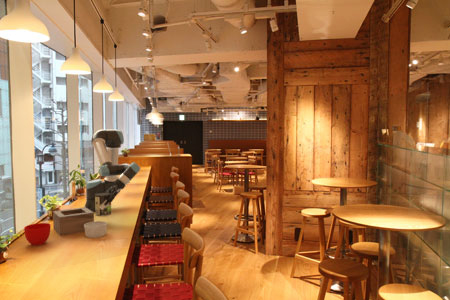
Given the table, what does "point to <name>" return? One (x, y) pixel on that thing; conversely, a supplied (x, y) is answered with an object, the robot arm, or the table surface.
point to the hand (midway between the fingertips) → (98, 207)
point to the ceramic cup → (37, 233)
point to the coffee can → (99, 201)
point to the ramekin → (95, 229)
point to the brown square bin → (71, 220)
